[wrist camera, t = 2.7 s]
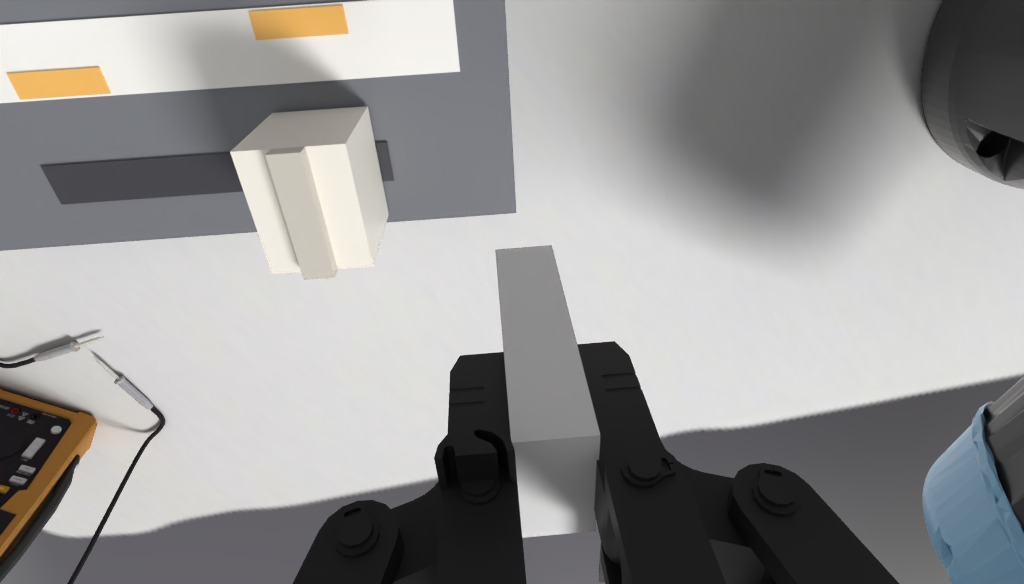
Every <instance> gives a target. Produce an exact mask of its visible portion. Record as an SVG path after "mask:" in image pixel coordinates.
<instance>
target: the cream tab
mask: <svg viewBox="0 0 1024 584" xmlns="http://www.w3.org/2000/svg"><path fill="white" fill-rule="evenodd" d="M230 154H231V156H232V159H233V162H234V165H235V168H236V171H237V174H238V177H239V180H240V183H241V185H242V188H243V191H244V194H245V197H246V200H247V203H248V206H249V209H250V211H251V214H252V217H253V220H254V223H255V226H256V229H257V232H258V235H259V237H260V240H261V243H262V246H263V249H264V252H265V255H266V258H267V261H268V263H269V266H270V269H271V272H272V274H282V273H295V272H301V273H302V276H303V279H304V280H305V279H319V278H332V277H335V275H336V273H337V270H338V269H349V268H362V267H373V265H374V262H375V259H376V255H377V252H378V249H379V245H380V242H381V239H382V235H383V232H384V229H385V225H386V222H387V219H388V215H389V213H388V208H387V203H386V198H385V192H384V187H383V182H382V177H381V172H380V167H379V162H378V156H377V151H376V146H375V141H374V136H373V131H372V126H371V121H370V115H369V110H368V106H364V107H350V108H335V109H321V110H307V111H292V112H278V113H272V114H270V115H269V116H268V117H267V118H266V119H265V120H264V121H263V122H262V123H261V124H260V125H259V126H257V127H256V128H255V129H254V130H253V131H252V132H251V133H250V134H249V135H248V136H247V137H246V138H244V139H243V140H242V141H241V142H240V143H239V144H238V145H237V146H236V147H235V148H234V149H233V150H231V151H230Z"/></svg>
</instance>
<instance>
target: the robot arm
mask: <svg viewBox="0 0 1024 584" xmlns="http://www.w3.org/2000/svg"><path fill="white" fill-rule="evenodd" d="M921 92H922V104H923V110H924V114H925V118H926V122H927V124H928V127H929V130H930V132H931V134H932V135H933V137H934V139H935V140H936V142H937V143H938V145H939V146H940V147H941V148H942V150H943V151H944V152H945V153H946V154H947V155H949V156H950V157H951V158H952V159H954V160H955V161H956V162H958V163H960V164H962V165H963V166H965V167H967V168H969V169H971V170H973V171H975V172H977V173H980V174H982V175H984V176H986V177H988V178H990V179H992V180H994V181H997V182H999V183H1002V184H1005V185H1009V186H1012V187H1016V188H1021V189H1024V0H944V1H943V3H942V5H941V8H940V10H939V12H938V15H937V17H936V20H935V22H934V25H933V28H932V31H931V34H930V37H929V41H928V44H927V48H926V53H925V57H924V63H923V70H922V89H921ZM496 263H497V275H498V288H499V300H500V312H501V325H502V337H503V350H504V352H499V353H487V354H475V355H463V356H460V357H459V358H458V360H457V362H456V363H455V365H454V367H453V368H452V370H451V372H450V393H449V416H448V435H447V436H446V437H445V438H444V439H443V440H442V442H441V443H440V444H439V445H438V447H437V451H436V454H435V457H434V459H435V464H436V469H437V474H438V479H439V481H438V483H437V484H436V485H435V486H434V488H432V489H431V490H430V491H428V492H427V493H426V494H425V495H423V496H421V497H419V498H417V499H415V500H413V501H411V502H408V503H405V504H403V505H400V506H398V507H395V508H393V509H390V508H389V507H388V506H387V505H386V504H383V503H380V502H376V501H374V500H366V501H356V502H354V503H351V504H349V505H346V506H343V507H342V508H340V509H339V510H338V511H337V512H335V513H334V514H332V515H331V516H330V517H329V518H328V519H327V521H326V522H325V523H324V525H323V526H322V528H321V529H320V530H319V532H318V534H317V536H316V538H315V540H314V542H313V544H312V546H311V548H310V550H309V552H308V554H307V556H306V558H305V560H304V562H303V564H302V566H301V568H300V570H299V572H298V574H297V576H296V578H295V580H294V582H293V584H526V574H525V563H524V553H523V541H522V538H523V537H535V536H545V535H556V534H567V533H578V532H589V531H595V530H596V520H597V525H598V529H599V535H600V539H601V548H600V563H599V582H605V584H899V583H898V582H897V581H896V580H895V578H894V577H893V576H892V575H891V574H890V573H889V572H888V571H887V570H886V569H885V567H883V565H882V564H881V563H880V562H879V561H878V560H877V559H876V558H875V557H874V555H873V554H872V553H871V552H870V551H869V550H868V549H867V548H866V547H865V546H864V544H862V542H861V541H860V540H859V539H858V538H857V537H856V536H855V535H854V533H853V532H852V531H851V530H850V529H849V528H848V527H847V526H846V525H845V524H844V522H843V521H842V520H841V519H840V518H839V517H838V516H837V515H836V514H835V513H834V511H833V510H832V509H831V508H830V507H829V506H828V505H827V504H826V503H825V502H824V501H823V500H822V498H821V497H820V496H819V495H818V494H817V493H816V492H815V491H814V490H813V488H812V487H811V486H810V485H809V484H808V483H806V482H805V481H804V480H803V479H802V478H800V477H799V476H798V475H797V474H795V473H794V472H791V471H789V470H787V469H785V468H783V467H781V466H777V465H771V464H766V463H760V464H753V465H748V466H747V467H745V468H743V469H741V470H739V471H738V473H737V474H736V476H735V478H730V477H724V476H719V475H714V474H708V473H704V472H700V471H697V470H693V469H691V468H689V467H687V466H685V465H683V464H681V463H680V462H678V461H677V460H676V459H675V457H674V456H673V455H671V454H670V453H669V452H668V451H666V449H665V448H664V446H663V444H662V442H661V440H660V438H659V435H658V432H657V429H656V427H655V424H654V421H653V419H652V416H651V413H650V411H649V408H648V405H647V402H646V400H645V397H644V394H643V392H642V390H641V388H640V384H639V381H638V378H637V376H636V375H635V370H634V367H633V365H632V362H631V359H630V357H629V355H628V354H627V353H626V352H625V351H624V350H623V349H622V348H621V347H620V346H619V345H618V344H617V343H616V342H615V341H614V342H602V343H590V344H578V345H577V342H576V338H575V334H574V330H573V326H572V323H571V319H570V315H569V311H568V307H567V303H566V299H565V295H564V291H563V288H562V284H561V280H560V276H559V272H558V268H557V264H556V260H555V256H554V253H553V249H552V245H549V246H536V247H524V248H511V249H498V250H496ZM923 510H924V516H925V521H926V526H927V528H928V532H929V535H930V538H931V541H932V544H933V547H934V549H935V551H936V553H937V554H938V556H939V558H940V560H941V561H942V563H943V565H944V566H945V568H946V570H947V573H948V575H949V579H950V582H951V583H952V584H1024V376H1023V377H1022V378H1021V379H1020V380H1019V381H1018V382H1017V383H1016V384H1015V385H1013V387H1011V388H1010V389H1009V390H1008V391H1007V392H1006V393H1005V394H1004V395H1002V396H1001V397H1000V398H999V399H998V400H997V401H996V402H988V403H987V404H985V405H983V406H982V407H980V408H979V409H978V411H977V413H976V415H975V417H974V418H973V422H972V425H971V426H970V427H969V428H968V429H967V430H966V431H965V432H964V433H963V434H962V435H961V436H960V437H959V438H958V439H957V440H956V441H955V442H954V443H953V444H952V445H951V446H950V447H949V448H948V449H947V450H946V451H945V452H944V453H943V454H942V455H941V456H940V458H938V459H937V461H936V462H935V463H934V464H933V466H932V467H931V469H930V470H929V472H928V475H927V477H926V479H925V483H924V489H923Z"/></svg>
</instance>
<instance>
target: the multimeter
mask: <svg viewBox="0 0 1024 584" xmlns="http://www.w3.org/2000/svg"><path fill="white" fill-rule="evenodd" d="M102 338H104V337H97V338H94V339H90V340H87V341H84V342H81V343H78V342H76V341H73V342H71V343H70V344H67V345H64V346H61V347H57V348H54V349H51V350H48V351H45V352H42V353H40V354H38V355H36V356H35V357H33V358H30V359H28V360H24V361H21V362H17V363H13V364H3V363H0V367H2V368H16V367H19V366H23V365H26V364H30V363H32V362H35V361H43V360H47V359H50V358H53V357H56V356H60V355H63V354H66V353H69V352H72V351H78V350H79V349H80V346H83V345H86V344H89V343H92V342H95V341H98V340H100V339H102ZM94 358H95V357H94ZM95 360H96V361H97V363H99V364H100V365H101V366H102V367H103V368H104V369H105V370H106V371H108V372H109V373H110V374H111V375H112V376H113V377H114V378H115V379H116V380H115V382H114V383H115V384H118V385H119V386H120V387H122V388H123V389H124V390H125V391H126V392H127V393H128V394H130V395H131V396H132V397H133V398H134V399H135V400H136V401H138V402H139V403H140V404H141V405H142V406H144V407H145V408H147V409H150V410H151V411H152V412H153V413H155V414H156V415H157V416H158V418H159V419H160V421H161V424H160V426H159V427H158V428H157V429H156V431H154V432H153V433H152V434H151V435H150V436H149V437H148V438H147V439H146V441H145V442H144V444H143V445H142V447H141V448H140V450H139V452H138V453H137V455H136V457H135V458H134V460H133V462H132V464H131V466H130V467H129V469H128V471H127V473H126V475H125V477H124V479H123V481H122V483H121V484H120V486H119V488H118V490H117V492H116V494H115V496H114V498H113V500H112V502H111V504H110V505H109V507H108V509H107V511H106V513H105V515H104V517H103V519H102V521H101V523H100V525H99V526H98V528H97V530H96V532H95V534H94V536H93V538H92V540H91V542H90V544H89V546H88V548H87V550H86V551H85V553H84V555H83V557H82V559H81V560H80V562H79V564H78V566H77V567H76V569H75V571H74V573H73V575H72V576H71V578H70V580H69V582H68V584H73V583H74V581H75V579H76V577H77V576H78V574H79V572H80V570H81V568H82V567H83V565H84V563H85V561H86V559H87V558H88V556H89V554H90V552H91V550H92V548H93V546H94V544H95V542H96V541H97V539H98V537H99V535H100V533H101V531H102V529H103V527H104V525H105V523H106V521H107V519H108V517H109V515H110V513H111V511H112V509H113V507H114V506H115V504H116V502H117V500H118V498H119V496H120V494H121V492H122V490H123V488H124V486H125V484H126V482H127V480H128V478H129V476H130V475H131V473H132V471H133V469H134V467H135V465H136V463H137V461H138V460H139V458H140V456H141V454H142V453H143V451H144V449H145V448H146V446H147V445H148V443H149V442H150V441H151V439H152V438H153V437H155V436H156V435H157V434H158V433H159V432H160V431H161V429H162V428H163V426H164V425H165V418H164V417H163V415H162V414H161V413H160V412H159V411H158V410H157V409H156V408H154V407H153V405H152V403H151V402H150V401H149V400H148V399H147V398H146V397H145V396H144V395H143V394H142V393H141V392H139V391H138V390H137V389H136V388H135V387H134V386H133V385H132V384H130V383H129V382H128V381H127V380H126V379H125V377H124V376H120V377H119V376H118V375H117V374H115V373H114V372H113V371H112V370H111V369H110V368H109V367H108V366H106V365H105V364H104V363H103V362H102V361H101V360H99V359H97V358H95ZM96 426H97V423H96V420H95V418H94V417H93V416H91V415H88V414H86V413H83V412H78V413H75V412H72V411H69V410H65V409H62V408H59V407H56V406H52V405H49V404H46V403H43V402H39V401H36V400H33V399H30V398H26V397H23V396H20V395H17V394H13V393H10V392H7V391H4V390H0V582H1V581H2V580H3V579H4V578H5V576H6V575H7V574H8V573H9V571H10V570H11V569H12V568H13V567H14V566H15V564H16V563H17V562H18V561H19V560H20V558H21V557H22V556H23V554H24V553H25V552H26V550H27V549H28V547H29V546H30V545H31V543H32V542H33V541H34V539H35V538H36V537H37V535H38V534H39V533H40V531H41V530H42V528H43V527H44V526H45V524H46V523H47V522H48V520H49V519H50V518H51V516H52V515H53V514H54V512H55V511H56V509H57V507H58V505H59V504H60V502H61V500H62V498H63V497H64V495H65V493H66V491H67V490H68V488H69V486H70V484H71V482H72V478H73V473H74V472H75V471H76V470H77V468H78V465H79V461H80V459H81V458H82V456H83V455H84V453H85V452H86V451H87V450H88V449H89V448H90V446H91V443H92V439H93V436H94V433H95V429H96Z"/></svg>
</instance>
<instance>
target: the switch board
mask: <svg viewBox="0 0 1024 584" xmlns="http://www.w3.org/2000/svg"><path fill="white" fill-rule="evenodd" d="M364 106H368V110H369V115H370V121H371V126H372V131H373V136H374V141H375V146H376V151H377V156H378V162H379V167H380V172H381V177H382V182H383V187H384V192H385V198H386V203H387V208H388V213H389V215H388V219H387V222H398V221H412V220H425V219H439V218H453V217H466V216H480V215H494V214H507V213H516V200H515V181H514V163H513V145H512V126H511V108H510V89H509V71H508V53H507V34H506V16H505V0H0V251H2V250H16V249H29V248H43V247H57V246H70V245H84V244H98V243H111V242H125V241H139V240H152V239H166V238H180V237H193V236H207V235H221V234H234V233H248V232H257V229H256V226H255V223H254V220H253V217H252V214H251V211H250V209H249V206H248V203H247V200H246V197H245V194H244V191H243V188H242V185H241V183H240V180H239V177H238V174H237V171H236V168H235V165H234V162H233V159H232V156H231V154H230V151H231V150H233V149H234V148H235V147H236V146H237V145H238V144H239V143H240V142H241V141H242V140H243V139H244V138H246V137H247V136H248V135H249V134H250V133H251V132H252V131H253V130H254V129H255V128H256V127H257V126H259V125H260V124H261V123H262V122H263V121H264V120H265V119H266V118H267V117H268V116H269V115H270V114H272V113H278V112H292V111H307V110H321V109H335V108H350V107H364Z"/></svg>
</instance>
